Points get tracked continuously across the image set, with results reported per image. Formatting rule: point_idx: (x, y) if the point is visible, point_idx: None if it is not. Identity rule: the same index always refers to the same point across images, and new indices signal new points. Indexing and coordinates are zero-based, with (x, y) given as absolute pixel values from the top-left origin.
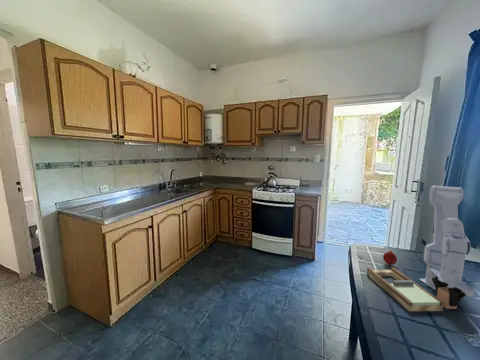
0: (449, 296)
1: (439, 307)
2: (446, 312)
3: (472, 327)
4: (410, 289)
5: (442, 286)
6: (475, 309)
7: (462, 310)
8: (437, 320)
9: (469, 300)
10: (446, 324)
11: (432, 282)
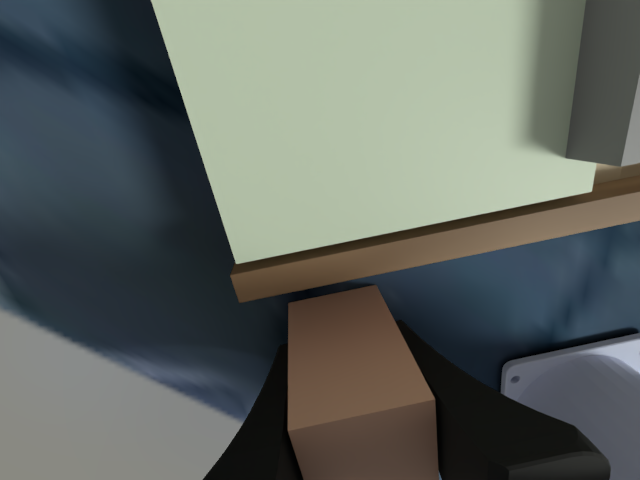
0: (291, 409)
1: None
2: None
3: (101, 343)
4: (479, 31)
5: (444, 451)
6: None
7: None
8: (71, 111)
9: None
10: (41, 164)
11: (582, 396)
